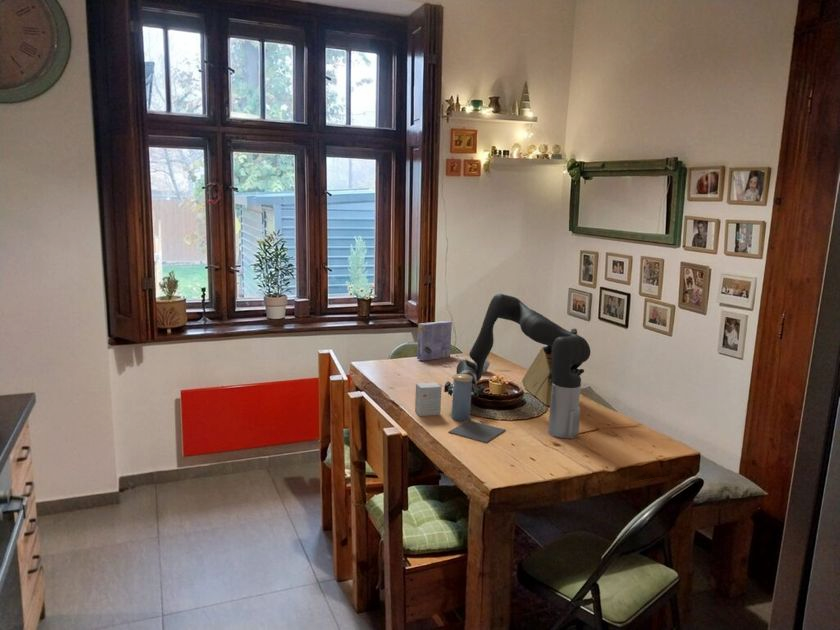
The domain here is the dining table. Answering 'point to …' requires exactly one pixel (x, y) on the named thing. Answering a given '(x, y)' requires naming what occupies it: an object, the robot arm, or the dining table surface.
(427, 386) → the small box
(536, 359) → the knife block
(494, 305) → the robot arm
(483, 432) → the mat
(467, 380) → the jar
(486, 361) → the die
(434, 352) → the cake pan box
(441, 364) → the dining table surface
